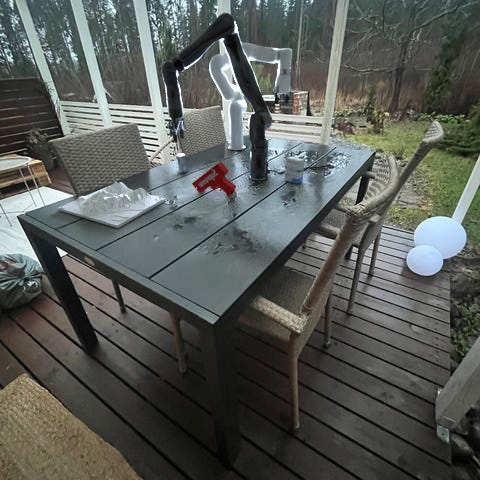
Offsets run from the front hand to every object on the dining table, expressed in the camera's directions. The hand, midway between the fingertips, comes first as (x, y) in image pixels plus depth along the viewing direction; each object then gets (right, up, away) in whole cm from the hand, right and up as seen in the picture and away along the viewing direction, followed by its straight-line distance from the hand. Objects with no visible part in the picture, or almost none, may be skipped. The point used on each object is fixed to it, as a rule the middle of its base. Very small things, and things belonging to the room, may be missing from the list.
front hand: (179, 140), depth 148 cm
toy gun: (+21, -32, -17) cm, 42 cm away
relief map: (-23, -40, -28) cm, 54 cm away
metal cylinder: (0, -15, +10) cm, 18 cm away
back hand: (+60, +34, +28) cm, 75 cm away
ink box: (+62, -24, -5) cm, 66 cm away
